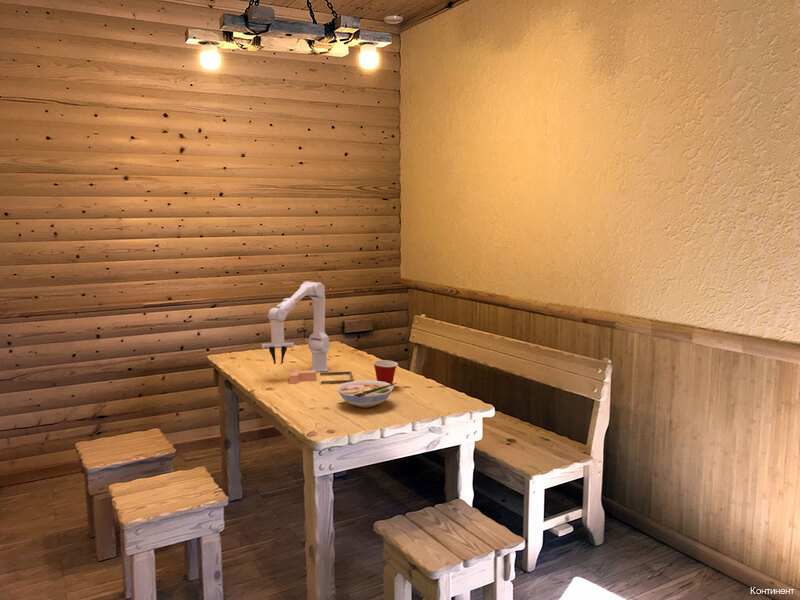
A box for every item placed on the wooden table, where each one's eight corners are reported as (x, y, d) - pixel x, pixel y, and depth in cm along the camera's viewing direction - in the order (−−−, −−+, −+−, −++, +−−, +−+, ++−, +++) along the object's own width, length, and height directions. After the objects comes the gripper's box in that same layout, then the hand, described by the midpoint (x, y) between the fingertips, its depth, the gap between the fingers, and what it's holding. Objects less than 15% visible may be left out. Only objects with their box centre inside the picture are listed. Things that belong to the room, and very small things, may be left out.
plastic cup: (395, 392, 283) (395, 365, 281) (370, 391, 285) (370, 364, 283) (400, 386, 293) (400, 360, 291) (376, 385, 295) (376, 359, 294)
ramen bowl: (365, 393, 282) (365, 375, 280) (407, 403, 267) (406, 383, 266) (323, 407, 262) (322, 387, 261) (365, 418, 248) (365, 397, 247)
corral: (320, 374, 314) (320, 372, 314) (351, 373, 316) (351, 371, 316) (320, 384, 297) (320, 381, 297) (354, 382, 299) (354, 380, 299)
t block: (290, 377, 309) (290, 369, 309) (315, 376, 311) (315, 368, 311) (289, 384, 298) (289, 375, 297) (316, 383, 299) (316, 374, 299)
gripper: (260, 336, 295) (261, 365, 297) (293, 335, 297) (294, 364, 299) (261, 333, 302) (262, 362, 304) (293, 332, 304) (294, 361, 306)
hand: (278, 363), depth 302 cm, fingers open, 3 cm apart
